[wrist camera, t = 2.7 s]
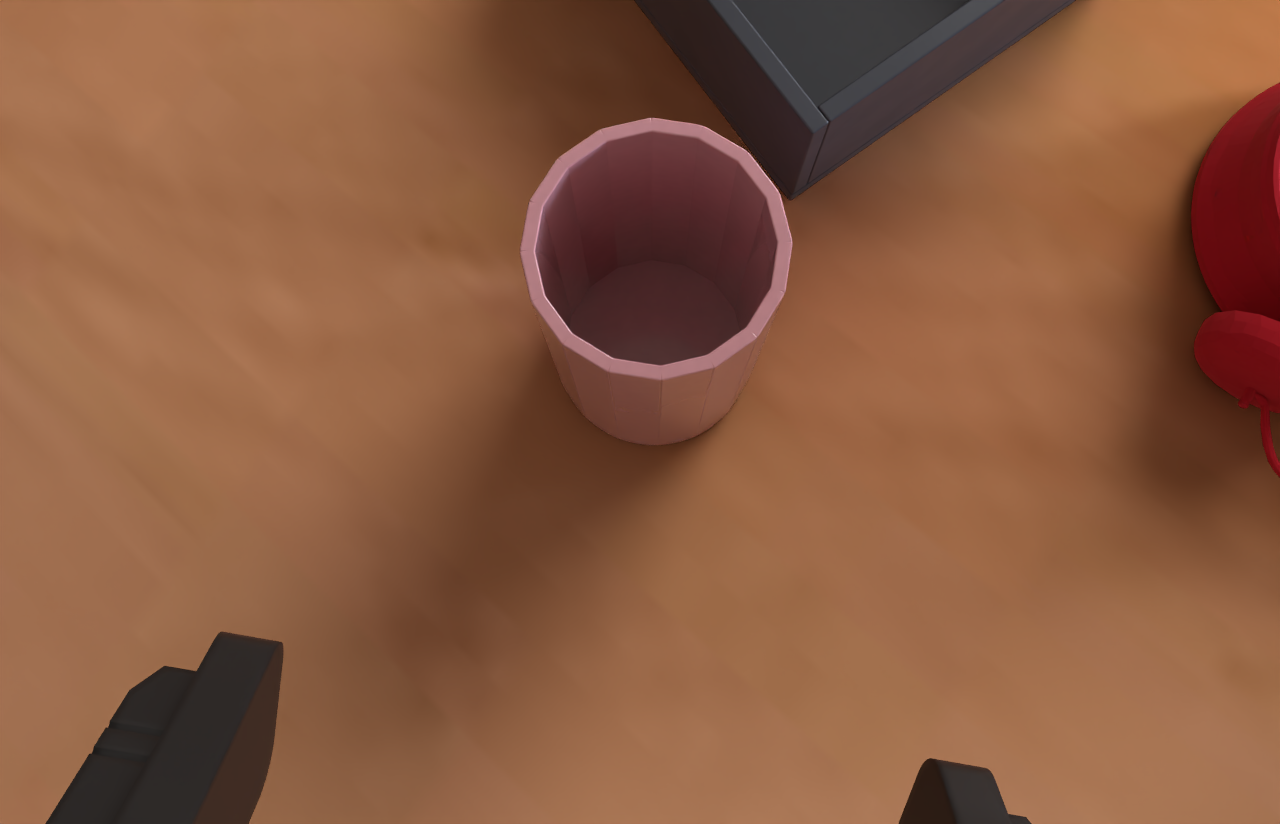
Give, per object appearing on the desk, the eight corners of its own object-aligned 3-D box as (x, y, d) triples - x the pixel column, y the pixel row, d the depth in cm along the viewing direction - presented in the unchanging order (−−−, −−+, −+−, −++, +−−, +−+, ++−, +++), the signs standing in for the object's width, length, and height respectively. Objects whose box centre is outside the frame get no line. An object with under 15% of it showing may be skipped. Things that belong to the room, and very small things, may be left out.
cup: (675, 220, 39) (685, 69, 28) (789, 371, 38) (844, 275, 27) (519, 329, 39) (469, 217, 28) (632, 484, 38) (625, 431, 27)
